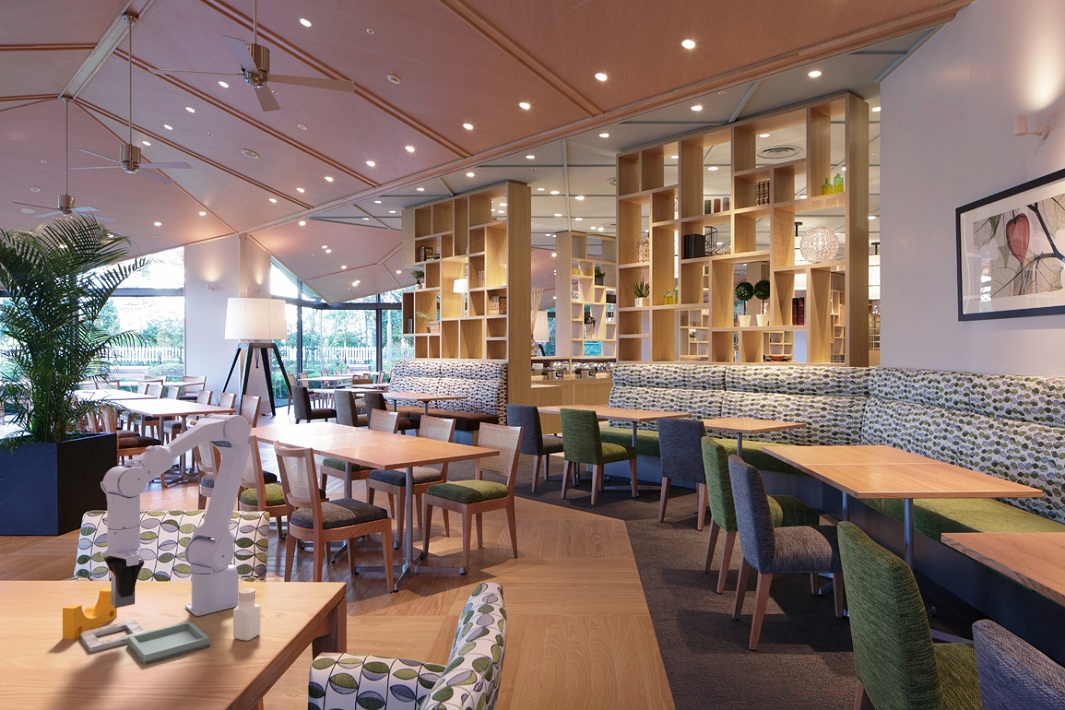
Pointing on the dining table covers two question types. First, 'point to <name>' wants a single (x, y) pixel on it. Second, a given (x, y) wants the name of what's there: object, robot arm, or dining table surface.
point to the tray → (168, 642)
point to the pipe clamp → (88, 615)
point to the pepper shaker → (246, 616)
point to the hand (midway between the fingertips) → (123, 593)
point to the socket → (96, 645)
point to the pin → (115, 595)
